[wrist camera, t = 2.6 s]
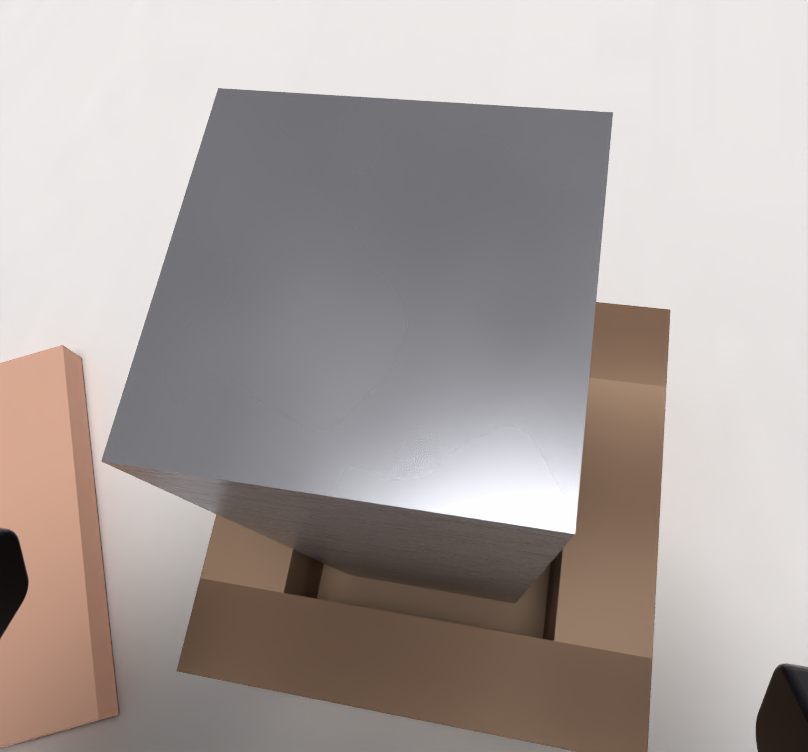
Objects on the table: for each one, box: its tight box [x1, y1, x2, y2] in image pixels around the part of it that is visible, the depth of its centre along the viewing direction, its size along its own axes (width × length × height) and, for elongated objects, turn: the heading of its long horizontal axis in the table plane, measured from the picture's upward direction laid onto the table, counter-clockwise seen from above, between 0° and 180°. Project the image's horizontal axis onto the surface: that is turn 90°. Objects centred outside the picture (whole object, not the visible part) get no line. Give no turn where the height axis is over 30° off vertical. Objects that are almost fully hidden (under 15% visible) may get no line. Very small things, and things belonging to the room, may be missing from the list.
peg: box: [102, 88, 613, 604], centre depth 12 cm, size 4×4×12 cm
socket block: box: [177, 302, 670, 752], centre depth 17 cm, size 9×9×4 cm
